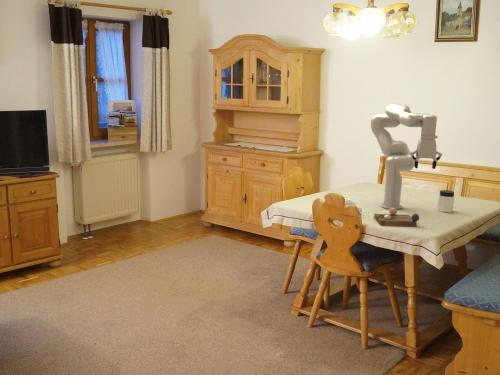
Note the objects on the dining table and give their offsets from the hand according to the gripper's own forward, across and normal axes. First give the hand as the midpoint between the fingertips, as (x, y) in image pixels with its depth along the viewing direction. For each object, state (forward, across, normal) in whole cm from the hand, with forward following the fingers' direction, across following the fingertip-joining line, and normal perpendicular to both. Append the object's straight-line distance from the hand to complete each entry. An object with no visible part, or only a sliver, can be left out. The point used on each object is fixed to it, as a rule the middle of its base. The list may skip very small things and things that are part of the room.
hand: (424, 168), depth 313 cm
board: (+28, +18, +12) cm, 35 cm away
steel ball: (+26, +22, +12) cm, 36 cm away
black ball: (+24, +8, +18) cm, 31 cm away
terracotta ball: (+24, +17, +6) cm, 30 cm away
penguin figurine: (+29, +38, -5) cm, 48 cm away
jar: (+28, -21, -20) cm, 41 cm away
